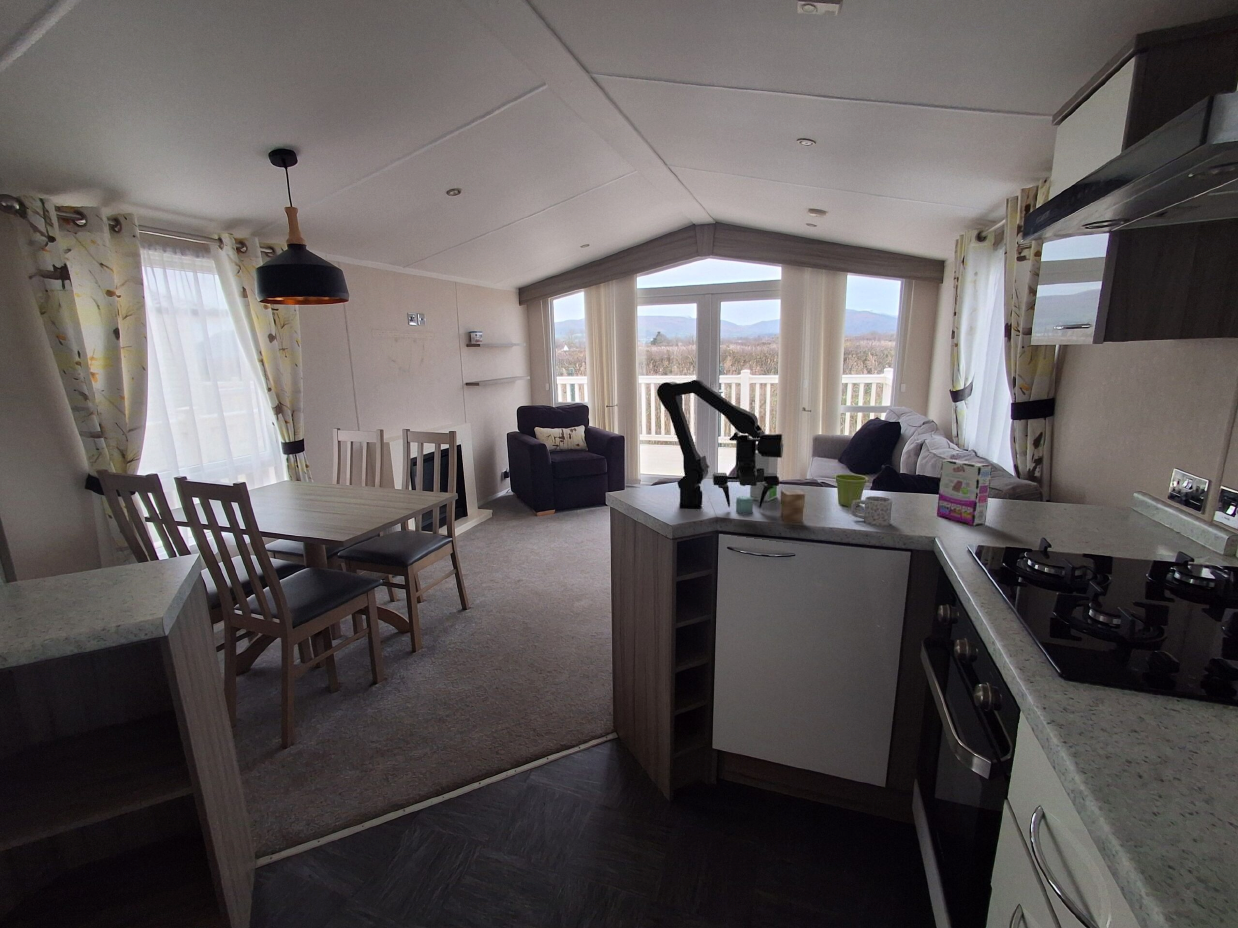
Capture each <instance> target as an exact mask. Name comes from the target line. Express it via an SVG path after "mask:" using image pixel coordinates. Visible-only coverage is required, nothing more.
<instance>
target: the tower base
mask: <svg viewBox="0 0 1238 928" xmlns="http://www.w3.org/2000/svg"><path fill="white" fill-rule="evenodd" d="M780 518H781V519H782V521H783V522H784V523H803V522H804V521H803V520H804V508H792V509H786V508H785V507H784V506H782V505H781V504H780Z"/></svg>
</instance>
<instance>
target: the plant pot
mask: <svg viewBox="0 0 1238 928" xmlns="http://www.w3.org/2000/svg"><path fill="white" fill-rule="evenodd" d="M834 478H835V482H836V488H837V503H838V505H840V506H845V507H848V508H849V507H850V508H851V506H852V502H853V501H854V500H862V496H863V492H864V488H865V486H866V483H867V481H869V479H868V477H866V476H863V475H859V474H850V473H849V474H848V473H844V474H842V473H841V474H836V475H834ZM859 506H861V504H856V506H855V508H856V507H859Z"/></svg>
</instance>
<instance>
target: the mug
mask: <svg viewBox="0 0 1238 928" xmlns="http://www.w3.org/2000/svg"><path fill="white" fill-rule="evenodd" d="M856 504H860V505H864V509H863V510H864V511H863V513H862V514H861V513H857V512H856V507H857V506H856ZM855 506H856V507H855ZM892 508H893V499H891V498H889V497H885V496H878V495H873V496H872V495H871V496H866V497H865V498H864V499H861V500H854V501H853V502H852V506H851V507H850V509H851V511H850V512H851V515H852V516H853V517H855V518H858V519H862V520H863V523H864V524H866V525H870V526H873V527H874V526H875V527H889V526H890V525H891V520H892V519H891V518H892Z"/></svg>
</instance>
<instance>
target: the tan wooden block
mask: <svg viewBox="0 0 1238 928" xmlns="http://www.w3.org/2000/svg"><path fill="white" fill-rule="evenodd" d="M805 498H806V494H805V492H803V491H801V490H799V489H782V490H780V506H781V505H782V506H784V507H785V508H786V509H792V508H803V509H805V504H806V501H805V500H806V499H805Z"/></svg>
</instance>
